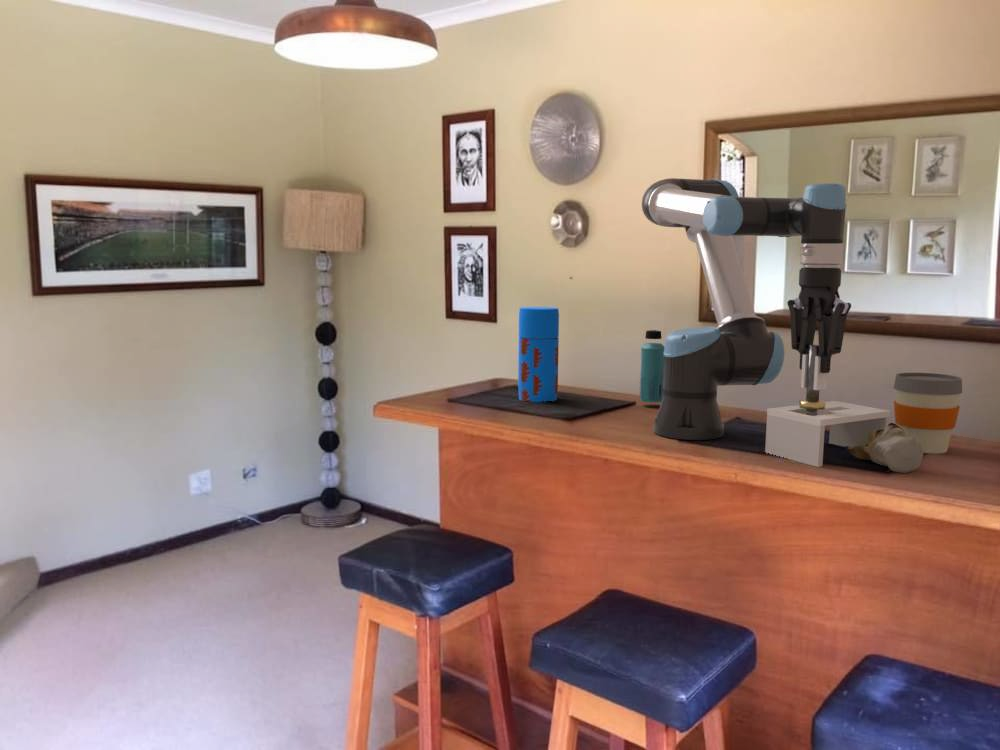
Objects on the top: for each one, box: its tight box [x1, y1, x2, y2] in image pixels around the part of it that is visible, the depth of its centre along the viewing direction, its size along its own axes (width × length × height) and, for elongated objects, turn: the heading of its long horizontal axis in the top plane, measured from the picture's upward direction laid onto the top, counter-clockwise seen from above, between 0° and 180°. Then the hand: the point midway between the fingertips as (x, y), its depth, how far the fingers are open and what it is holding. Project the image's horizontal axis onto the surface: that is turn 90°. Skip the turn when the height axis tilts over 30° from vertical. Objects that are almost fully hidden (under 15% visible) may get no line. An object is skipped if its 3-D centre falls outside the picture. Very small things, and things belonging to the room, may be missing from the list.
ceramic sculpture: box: [844, 422, 924, 474], centre depth 157 cm, size 11×9×15 cm
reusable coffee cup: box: [893, 372, 963, 454], centre depth 171 cm, size 13×13×15 cm
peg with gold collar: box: [798, 344, 827, 416], centre depth 162 cm, size 5×5×16 cm
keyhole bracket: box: [764, 400, 891, 468], centre depth 166 cm, size 20×13×9 cm, turn 119°
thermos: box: [517, 306, 560, 403], centre depth 228 cm, size 11×11×25 cm
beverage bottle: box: [639, 329, 665, 404], centre depth 218 cm, size 6×7×20 cm
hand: (813, 388), depth 162 cm, fingers closed on peg with gold collar, 2 cm apart
